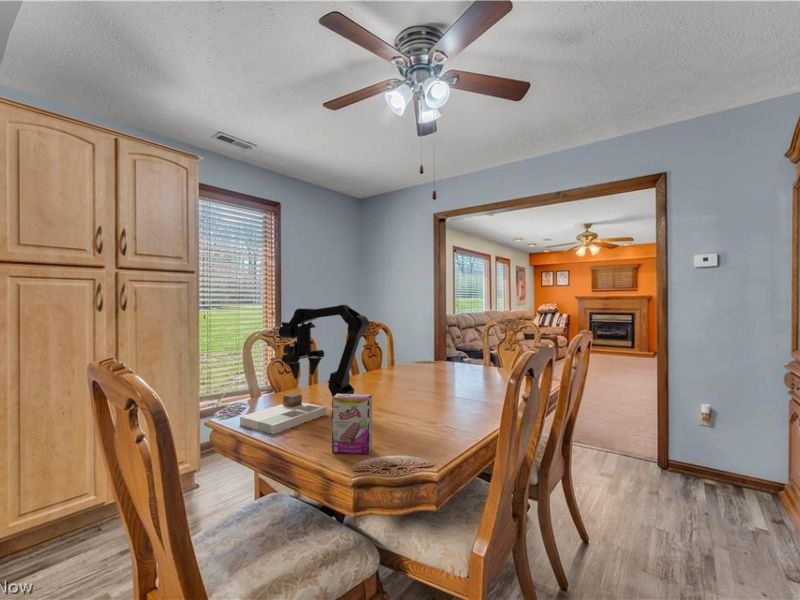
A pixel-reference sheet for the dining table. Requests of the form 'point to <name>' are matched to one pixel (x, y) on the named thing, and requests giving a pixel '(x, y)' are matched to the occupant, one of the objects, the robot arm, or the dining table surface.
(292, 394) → the walnut block
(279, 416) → the board
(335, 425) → the candy bar box
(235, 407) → the dining table surface
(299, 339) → the robot arm
